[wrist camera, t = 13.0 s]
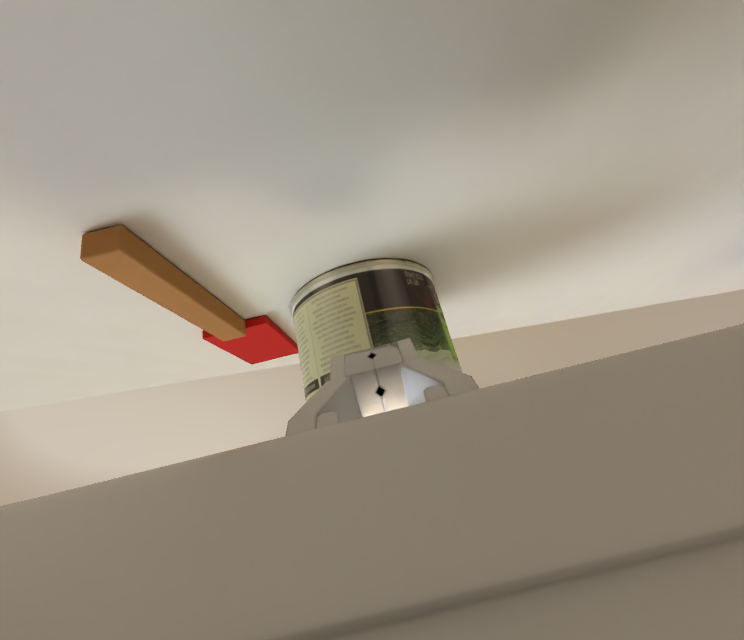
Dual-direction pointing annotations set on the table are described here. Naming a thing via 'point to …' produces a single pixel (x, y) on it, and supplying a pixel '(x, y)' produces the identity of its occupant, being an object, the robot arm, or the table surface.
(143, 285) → the spatula
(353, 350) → the coffee can
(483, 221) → the table surface
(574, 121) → the table surface
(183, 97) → the table surface
